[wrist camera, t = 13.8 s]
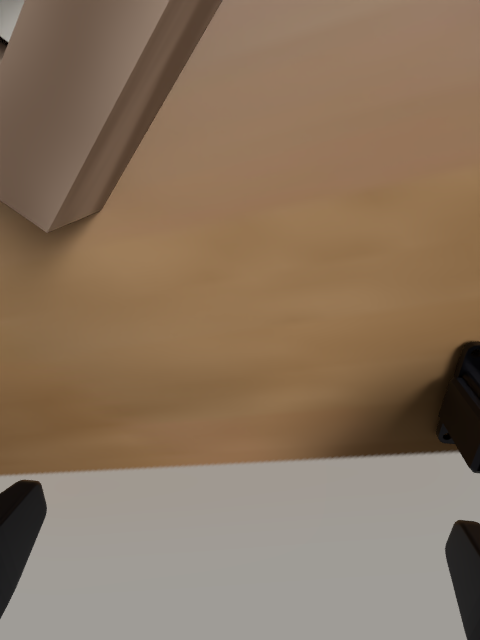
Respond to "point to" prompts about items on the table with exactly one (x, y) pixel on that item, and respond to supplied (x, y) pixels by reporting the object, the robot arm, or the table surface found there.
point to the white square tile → (9, 16)
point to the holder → (85, 96)
